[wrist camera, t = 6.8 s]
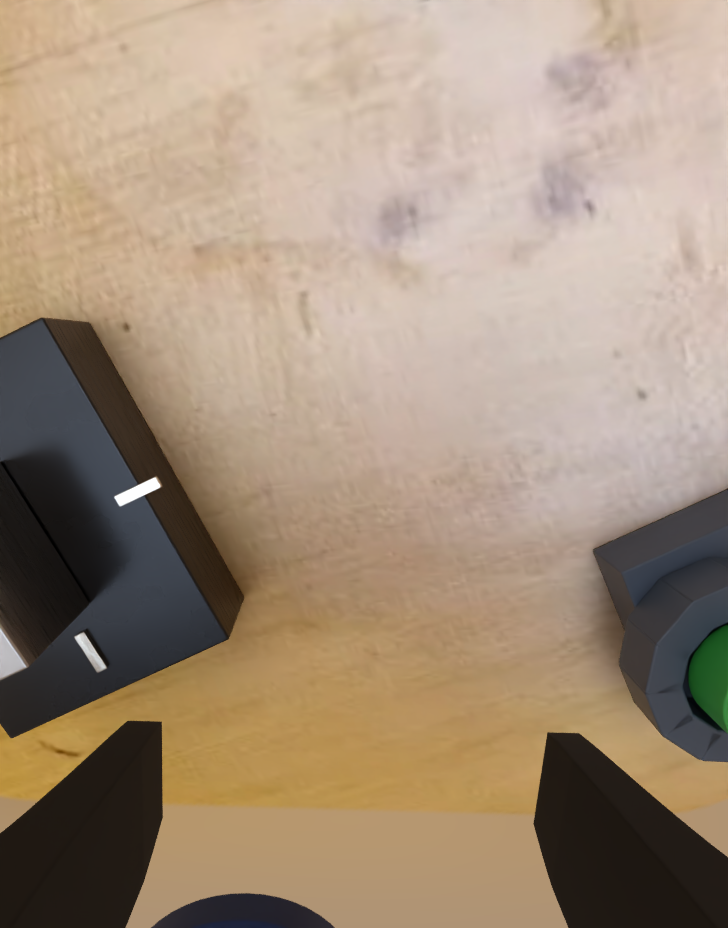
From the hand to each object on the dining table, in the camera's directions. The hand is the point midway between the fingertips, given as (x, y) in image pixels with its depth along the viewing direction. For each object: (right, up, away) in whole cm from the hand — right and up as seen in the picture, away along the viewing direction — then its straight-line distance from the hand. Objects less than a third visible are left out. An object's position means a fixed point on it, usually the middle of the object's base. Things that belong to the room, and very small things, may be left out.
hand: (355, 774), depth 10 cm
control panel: (-10, +4, +9) cm, 14 cm away
